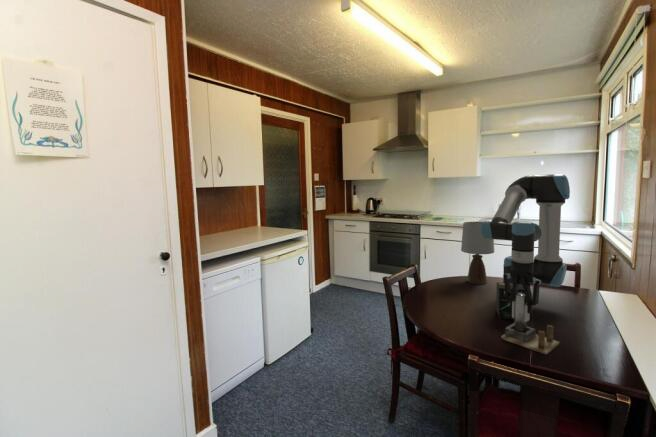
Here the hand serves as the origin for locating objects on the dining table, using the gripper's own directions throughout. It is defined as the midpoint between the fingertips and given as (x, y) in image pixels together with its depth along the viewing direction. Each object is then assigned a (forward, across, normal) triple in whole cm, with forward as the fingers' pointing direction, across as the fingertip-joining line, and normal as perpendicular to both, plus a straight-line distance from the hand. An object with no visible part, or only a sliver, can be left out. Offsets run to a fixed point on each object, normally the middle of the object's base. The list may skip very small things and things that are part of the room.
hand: (520, 318), depth 129 cm
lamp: (+8, -50, +56) cm, 75 cm away
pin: (+4, 0, 0) cm, 4 cm away
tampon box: (+8, -12, +19) cm, 24 cm away
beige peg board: (+8, +4, 0) cm, 9 cm away
